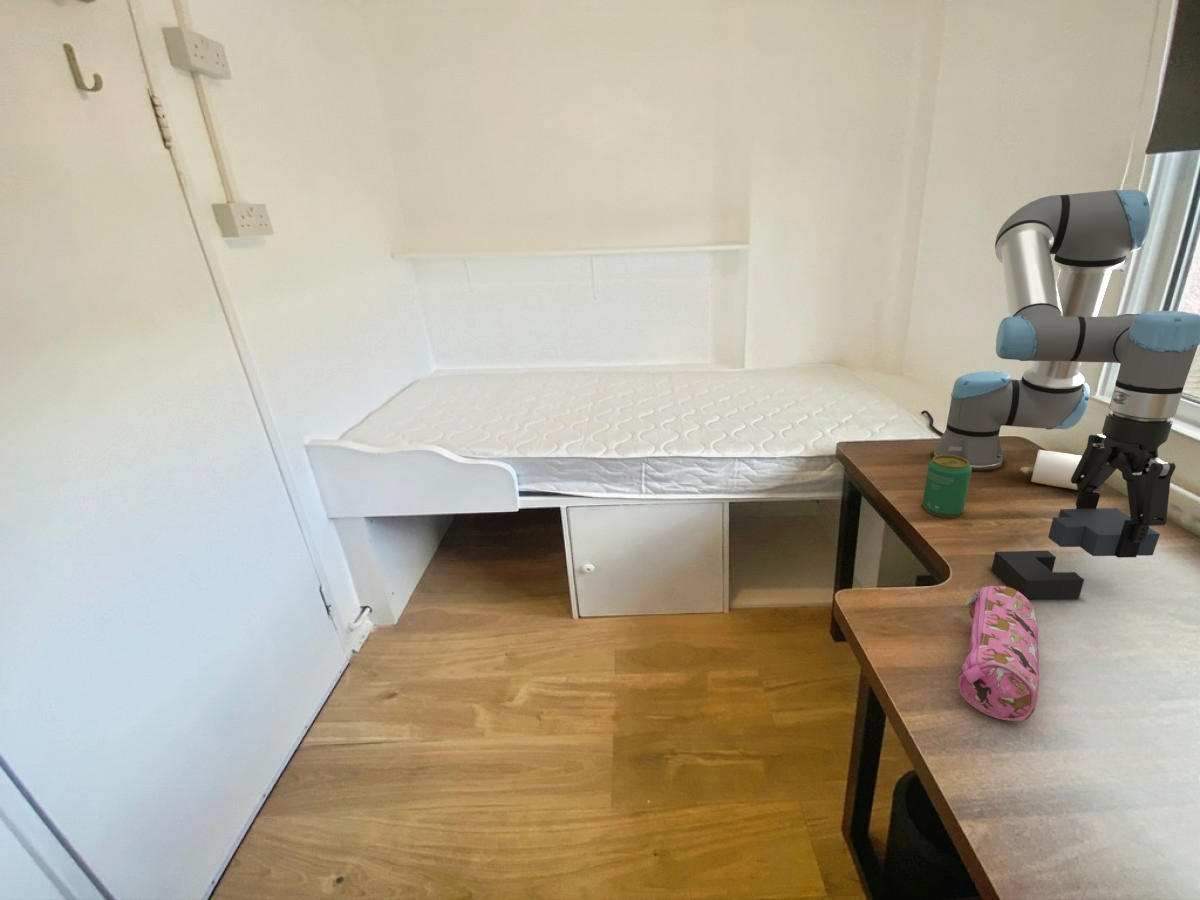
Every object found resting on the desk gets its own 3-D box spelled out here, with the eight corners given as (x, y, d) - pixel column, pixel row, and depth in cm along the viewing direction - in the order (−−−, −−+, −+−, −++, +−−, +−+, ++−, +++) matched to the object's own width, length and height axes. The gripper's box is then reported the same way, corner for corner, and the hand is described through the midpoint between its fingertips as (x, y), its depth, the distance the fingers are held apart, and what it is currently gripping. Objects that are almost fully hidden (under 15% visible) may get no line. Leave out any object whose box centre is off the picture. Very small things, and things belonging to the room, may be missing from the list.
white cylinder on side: (1084, 496, 125) (1093, 464, 122) (1029, 486, 131) (1036, 455, 128) (1085, 477, 133) (1094, 447, 130) (1034, 469, 139) (1041, 439, 136)
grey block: (1036, 529, 99) (1041, 509, 97) (1109, 527, 97) (1115, 507, 96) (1072, 556, 90) (1078, 535, 89) (1152, 555, 89) (1160, 534, 88)
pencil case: (960, 619, 91) (970, 574, 88) (1031, 638, 86) (1043, 591, 82) (950, 710, 75) (960, 658, 71) (1035, 740, 70) (1051, 686, 66)
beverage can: (971, 513, 121) (981, 463, 117) (944, 521, 119) (953, 471, 115) (940, 498, 129) (948, 451, 124) (913, 506, 126) (921, 458, 122)
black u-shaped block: (991, 569, 102) (995, 551, 101) (1042, 569, 102) (1047, 550, 100) (1021, 600, 94) (1026, 580, 93) (1078, 599, 93) (1084, 579, 92)
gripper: (1064, 396, 96) (1036, 511, 104) (1176, 439, 76) (1130, 578, 84) (1111, 394, 95) (1079, 510, 103) (1236, 437, 75) (1184, 577, 83)
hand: (1102, 540), depth 94 cm, fingers closed on grey block, 9 cm apart
